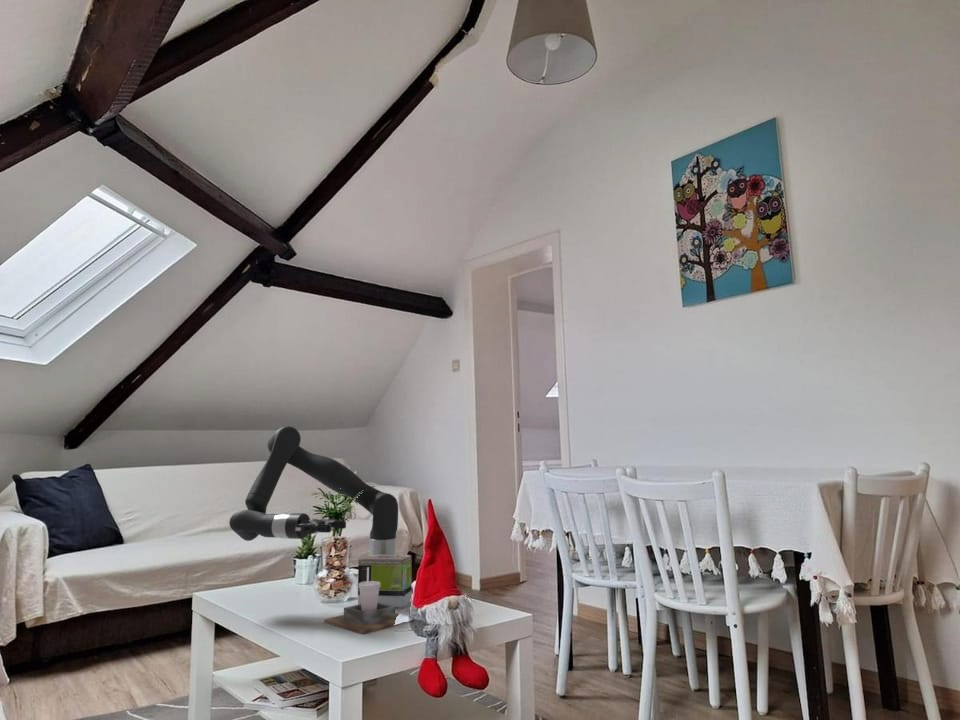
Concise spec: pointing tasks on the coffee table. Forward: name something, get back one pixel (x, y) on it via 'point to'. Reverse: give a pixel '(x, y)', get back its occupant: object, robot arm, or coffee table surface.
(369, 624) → the collar stand
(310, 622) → the coffee table surface
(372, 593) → the smoothie
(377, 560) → the tea box
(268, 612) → the coffee table surface
